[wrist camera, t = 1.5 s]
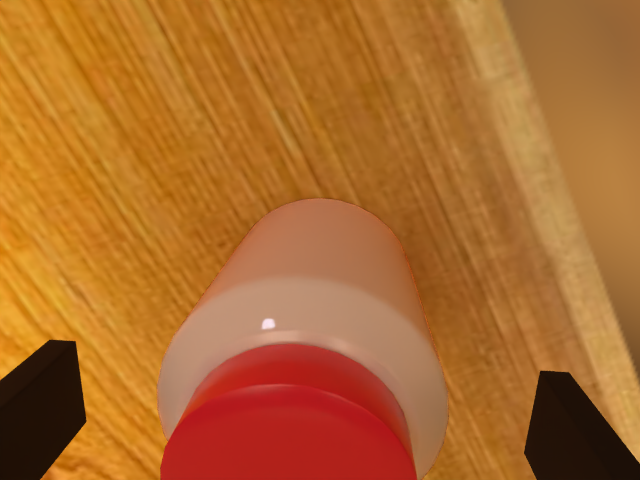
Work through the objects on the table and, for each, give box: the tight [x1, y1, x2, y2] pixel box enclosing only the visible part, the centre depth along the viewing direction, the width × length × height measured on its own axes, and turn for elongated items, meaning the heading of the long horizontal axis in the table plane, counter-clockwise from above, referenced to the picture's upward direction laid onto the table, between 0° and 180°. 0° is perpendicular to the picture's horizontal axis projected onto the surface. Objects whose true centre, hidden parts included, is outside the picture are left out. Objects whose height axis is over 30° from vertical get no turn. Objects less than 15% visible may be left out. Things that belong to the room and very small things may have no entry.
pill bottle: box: [157, 198, 449, 480], centre depth 15 cm, size 8×8×11 cm
